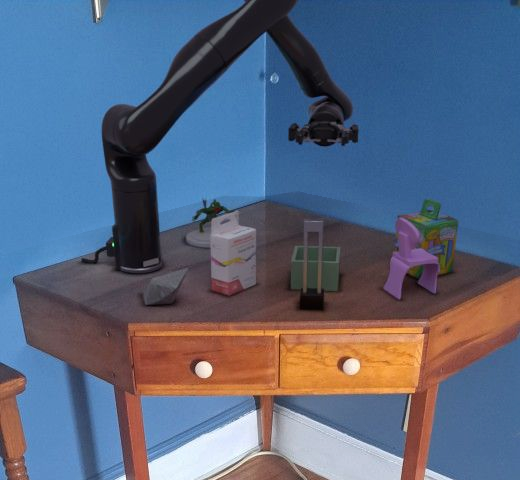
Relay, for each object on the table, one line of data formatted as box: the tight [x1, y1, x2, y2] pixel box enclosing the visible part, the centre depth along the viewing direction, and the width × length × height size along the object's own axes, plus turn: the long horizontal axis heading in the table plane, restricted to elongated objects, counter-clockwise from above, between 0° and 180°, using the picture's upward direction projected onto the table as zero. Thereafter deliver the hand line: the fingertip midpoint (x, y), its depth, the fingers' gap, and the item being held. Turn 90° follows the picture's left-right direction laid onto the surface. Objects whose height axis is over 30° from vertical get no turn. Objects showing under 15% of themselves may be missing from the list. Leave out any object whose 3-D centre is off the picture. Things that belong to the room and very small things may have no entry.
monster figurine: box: [185, 197, 236, 249], centre depth 188 cm, size 12×12×10 cm
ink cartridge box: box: [210, 210, 257, 297], centre depth 160 cm, size 9×5×15 cm, turn 141°
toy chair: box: [382, 217, 439, 300], centre depth 157 cm, size 8×9×15 cm
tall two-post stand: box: [299, 216, 325, 311], centre depth 150 cm, size 4×4×17 cm
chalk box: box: [393, 198, 459, 281], centre depth 168 cm, size 9×9×15 cm
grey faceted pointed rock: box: [142, 267, 190, 306], centre depth 156 cm, size 12×6×9 cm
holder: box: [290, 245, 342, 292], centre depth 164 cm, size 9×9×6 cm
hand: (321, 140), depth 161 cm, fingers open, 8 cm apart
